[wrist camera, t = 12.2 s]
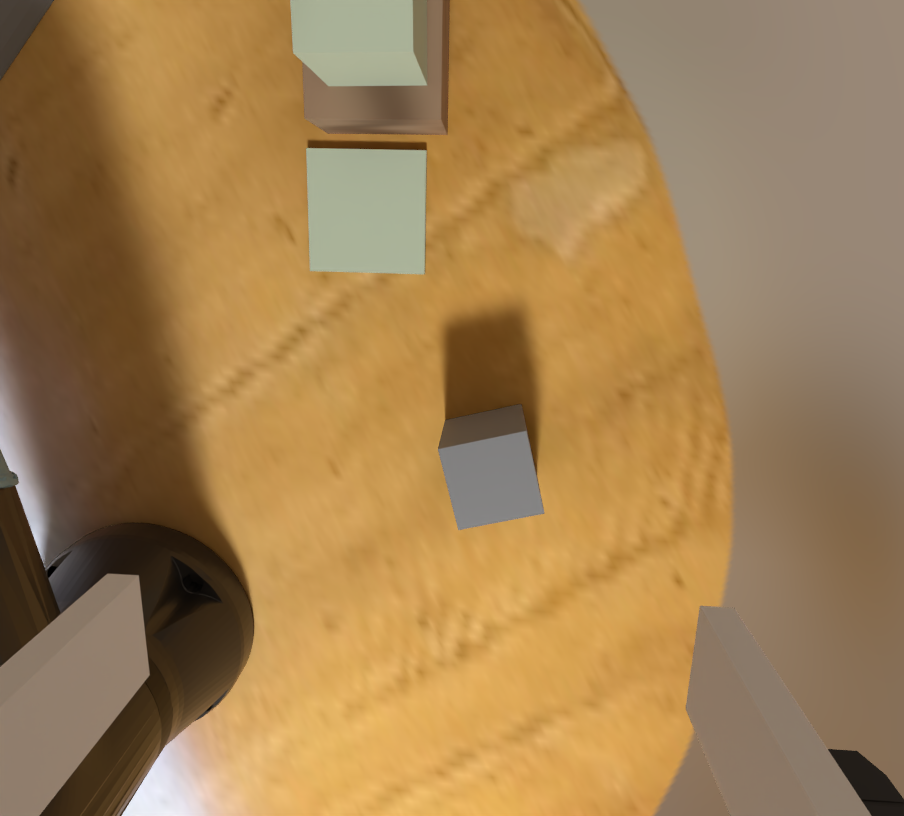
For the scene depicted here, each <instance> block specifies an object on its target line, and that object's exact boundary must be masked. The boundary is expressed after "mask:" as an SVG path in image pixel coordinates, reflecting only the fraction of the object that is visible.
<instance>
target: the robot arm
mask: <svg viewBox="0 0 904 816" xmlns="http://www.w3.org/2000/svg"><path fill="white" fill-rule="evenodd" d="M18 483H19V481H18V477H17V474H15V473H14V472H12V471H9V468H8V466H7V464H6V461H5V459H4V457H3V454H2V452H1V450H0V816H121V815H122V814H123V812H124V811H125V809H126V807H127V806H128V804H129V802H130V801H131V799H132V798H133V796H134V794H135V793H136V791H137V790H138V788H139V786H140V785H141V783H142V782H143V780H144V778H145V777H146V775H147V774H148V772H149V770H150V769H151V767H152V765H153V764H154V762H155V761H156V759H157V758H158V756H159V755H160V753H161V751H162V750H163V748H164V747H165V745H167V744H168V743H169V742H170V741H171V740H173V739H174V738H175V737H176V736H177V735H178V734H179V733H180V732H182V731H183V730H184V729H185V728H186V727H188V726H189V725H190V724H191V723H192V722H194V721H196V720H198V719H199V718H201V717H203V716H204V715H206V714H207V713H208V712H210V711H211V710H212V709H214V708H215V707H216V706H217V705H218V704H219V703H220V702H221V701H222V700H223V699H224V698H225V697H226V695H227V694H228V693H229V692H230V690H231V689H232V687H233V686H234V684H235V682H236V681H237V679H238V677H239V675H240V674H241V672H242V670H243V668H244V667H245V665H246V663H247V660H248V658H249V655H250V652H251V648H252V643H253V634H254V628H253V617H252V612H251V608H250V604H249V601H248V598H247V596H246V594H245V591H244V589H243V587H242V586H241V584H240V582H239V581H238V579H237V577H236V576H235V575H234V573H233V572H232V570H231V569H230V568H229V567H228V566H227V564H226V563H225V562H224V561H223V560H222V559H221V558H220V557H219V556H217V555H216V554H215V553H214V552H213V551H212V550H210V549H209V548H208V547H206V546H205V545H203V544H202V543H200V542H199V541H197V540H195V539H194V538H192V537H190V536H188V535H186V534H183V533H181V532H179V531H176V530H173V529H170V528H167V527H163V526H159V525H153V524H145V523H124V524H117V525H112V526H108V527H105V528H101V529H99V530H96V531H94V532H92V533H90V534H88V535H86V536H85V537H83V538H82V539H80V540H79V541H77V542H76V543H75V544H73V545H72V546H71V547H69V548H68V549H67V550H65V551H64V552H62V553H61V554H60V555H59V556H58V557H56V558H55V559H54V560H53V561H52V562H51V563H50V565H49V566H48V567H47V568H46V569H45V568H44V565H43V562H42V559H41V556H40V554H39V551H38V548H37V545H36V542H35V540H34V537H33V534H32V531H31V528H30V526H29V523H28V520H27V517H26V514H25V512H24V509H23V506H22V503H21V500H20V498H19V495H18V492H17V489H16V486H15V485H17V484H18ZM686 711H687V713H688V715H689V718H690V720H691V723H692V725H693V727H694V730H695V732H696V735H697V737H698V740H699V742H700V744H701V747H702V749H703V751H704V754H705V756H706V759H707V761H708V764H709V766H710V769H711V771H712V773H713V776H714V778H715V781H716V783H717V785H718V788H719V790H720V793H721V795H722V797H723V800H724V802H725V805H726V807H727V810H728V812H729V814H730V816H904V799H903V798H902V796H901V795H900V794H899V792H898V791H897V790H896V788H895V787H894V785H893V784H892V783H891V782H890V780H889V779H888V777H887V776H886V775H885V774H884V773H883V772H882V771H880V770H879V769H878V768H877V767H876V766H874V765H873V764H872V763H871V762H870V761H868V760H867V759H866V758H865V757H863V756H862V755H861V754H860V753H859V752H857V751H848V750H833V749H827V748H826V746H825V745H824V743H823V741H822V740H821V738H820V737H819V736H818V734H817V732H816V731H815V729H814V728H813V726H812V725H811V723H810V722H809V720H808V719H807V718H806V716H805V714H804V713H803V711H802V710H801V708H800V707H799V705H798V704H797V702H796V701H795V699H794V697H793V696H792V694H791V693H790V691H789V690H788V689H787V687H786V685H785V684H784V682H783V681H782V679H781V678H780V676H779V675H778V673H777V672H776V670H775V669H774V667H773V666H772V664H771V663H770V661H769V660H768V658H767V657H766V655H765V653H764V652H763V650H762V649H761V648H760V646H759V644H758V643H757V641H756V640H755V638H754V637H753V635H752V634H751V632H750V631H749V629H748V628H747V626H746V625H745V623H744V622H743V620H742V619H741V617H740V616H739V614H738V613H737V611H736V610H735V608H729V607H711V606H700V610H699V617H698V624H697V631H696V638H695V645H694V653H693V660H692V667H691V674H690V681H689V688H688V696H687V703H686Z"/></svg>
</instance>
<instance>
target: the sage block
mask: <svg viewBox="0 0 904 816" xmlns="http://www.w3.org/2000/svg"><path fill="white" fill-rule="evenodd" d="M290 2H291V21H292V40H293V53H294V54H295V55H296V56H297V57H298V58H299V59H300V60H301V61H302V62H303V63H304V64H305V65H307V66H308V67H309V68H310V69H311V70H312V71H313V72H314V73H315V74H316V75H317V76H318V77H319V78H320V79H321V80H322V81H323V82H325V83H326V84H327V85H328V86H420V85H427V0H290Z"/></svg>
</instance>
